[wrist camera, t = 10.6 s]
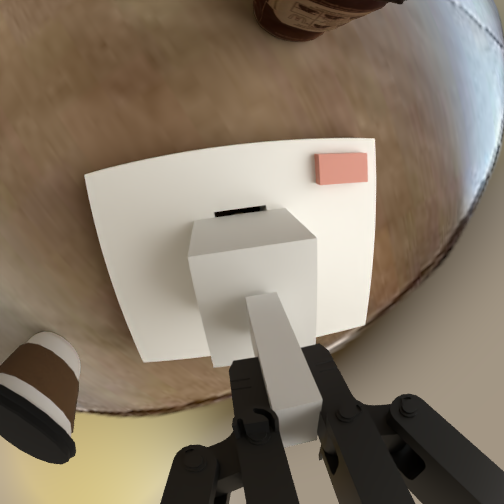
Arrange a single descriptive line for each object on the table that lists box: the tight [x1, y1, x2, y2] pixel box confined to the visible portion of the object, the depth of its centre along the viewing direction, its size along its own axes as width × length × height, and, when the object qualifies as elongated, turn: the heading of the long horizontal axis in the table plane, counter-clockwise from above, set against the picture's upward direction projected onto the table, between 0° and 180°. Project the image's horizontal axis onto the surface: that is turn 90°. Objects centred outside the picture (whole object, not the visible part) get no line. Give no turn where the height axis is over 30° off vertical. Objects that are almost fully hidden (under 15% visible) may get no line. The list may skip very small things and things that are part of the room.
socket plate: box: [84, 138, 376, 362], centre depth 21 cm, size 16×20×4 cm
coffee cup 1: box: [0, 331, 81, 464], centre depth 18 cm, size 11×11×12 cm
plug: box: [188, 208, 317, 368], centre depth 18 cm, size 7×6×9 cm
